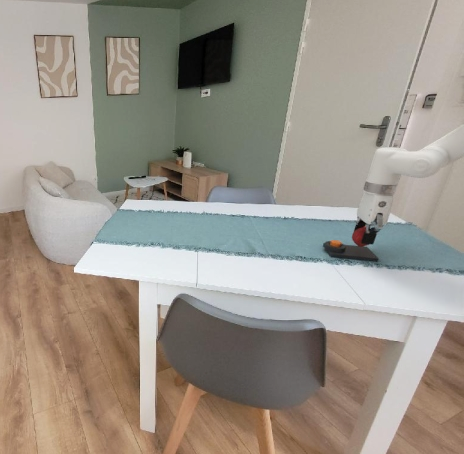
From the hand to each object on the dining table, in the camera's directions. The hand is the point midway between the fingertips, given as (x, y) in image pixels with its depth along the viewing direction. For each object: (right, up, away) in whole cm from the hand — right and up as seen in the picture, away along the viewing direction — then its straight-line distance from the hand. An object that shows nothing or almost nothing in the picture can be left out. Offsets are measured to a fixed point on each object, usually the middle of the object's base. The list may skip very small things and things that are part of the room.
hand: (362, 238), depth 99 cm
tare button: (-6, -3, +4) cm, 8 cm away
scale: (-2, -5, +3) cm, 7 cm away
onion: (0, -3, +1) cm, 3 cm away
